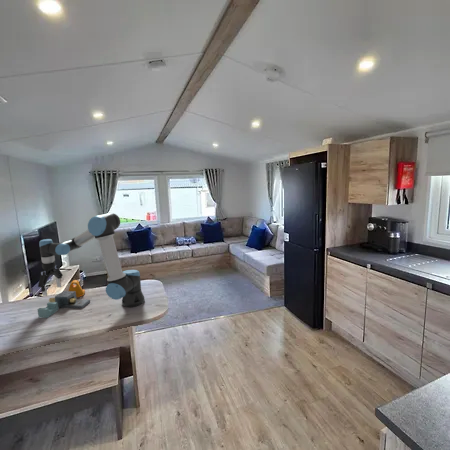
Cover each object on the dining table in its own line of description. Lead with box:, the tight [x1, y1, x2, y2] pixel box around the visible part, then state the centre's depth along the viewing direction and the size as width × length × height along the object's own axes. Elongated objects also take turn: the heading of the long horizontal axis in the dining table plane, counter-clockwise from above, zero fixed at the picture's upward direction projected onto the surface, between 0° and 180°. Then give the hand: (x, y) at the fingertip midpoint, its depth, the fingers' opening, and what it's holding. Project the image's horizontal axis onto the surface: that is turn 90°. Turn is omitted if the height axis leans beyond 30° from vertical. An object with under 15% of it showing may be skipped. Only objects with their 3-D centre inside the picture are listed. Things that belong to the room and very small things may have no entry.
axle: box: [48, 297, 77, 303], centre depth 187 cm, size 18×3×3 cm, turn 84°
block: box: [54, 290, 91, 309], centre depth 187 cm, size 19×9×8 cm, turn 84°
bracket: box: [67, 279, 86, 298], centre depth 201 cm, size 11×7×12 cm, turn 108°
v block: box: [37, 301, 59, 319], centre depth 175 cm, size 6×10×6 cm, turn 174°
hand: (52, 291), depth 187 cm, fingers open, 13 cm apart
